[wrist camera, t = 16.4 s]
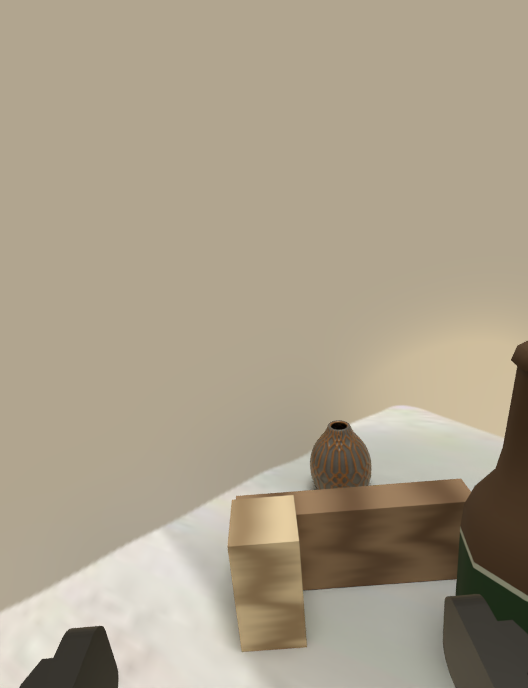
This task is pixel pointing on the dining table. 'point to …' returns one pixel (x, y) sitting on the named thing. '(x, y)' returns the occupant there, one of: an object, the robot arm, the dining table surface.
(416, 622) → the dining table surface
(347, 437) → the vase
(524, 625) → the beer bottle
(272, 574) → the maple block
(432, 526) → the walnut board
